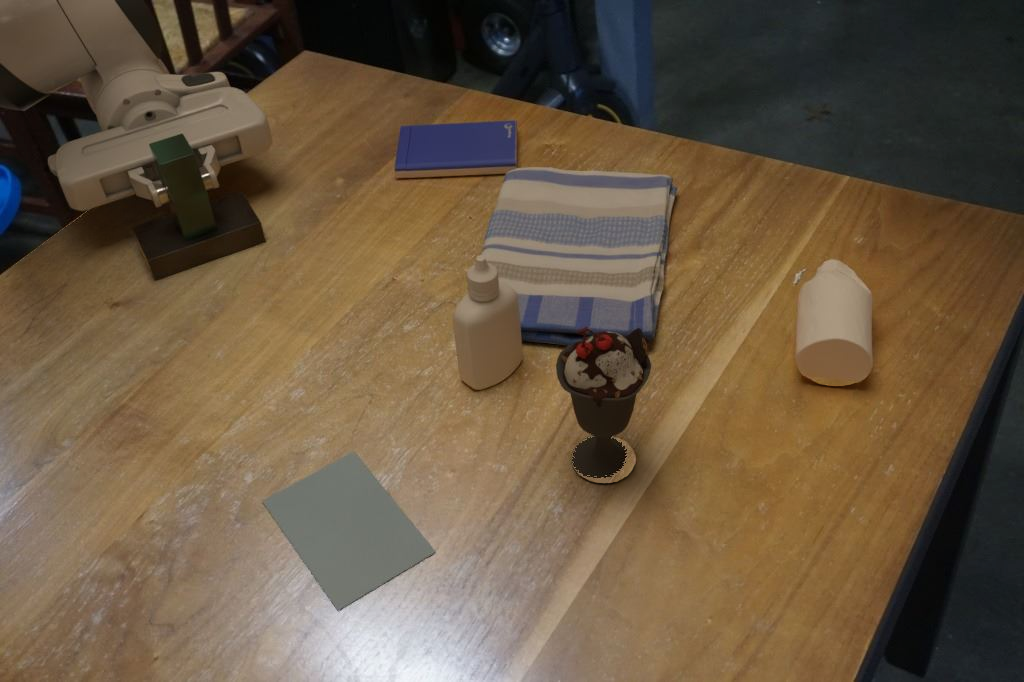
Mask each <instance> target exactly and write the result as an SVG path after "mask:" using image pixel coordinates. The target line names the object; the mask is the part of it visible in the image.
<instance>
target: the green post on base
mask: <svg viewBox="0 0 1024 682" xmlns="http://www.w3.org/2000/svg"><path fill="white" fill-rule="evenodd" d="M149 146H150V149H151V152H152V155H153V158H154V161H155V164H156V167H157V170H158V173H159V176H160V179H161V180H162V181H163V183H164V185H165V186H166V189H167V191H168V194H169V197H170V200H171V203H169V204H168V205H169V208H170V212H171V214H168V215H165V216H161V217H159V218H155V219H152V220H150V221H147V222H144V223H141V224H138V225H135V226H133V227H131V230H132V232H133V235H134V238H135V240H136V243H137V245H138V249H139V251H140V252H141V254H142V256H143V259H144V261H145V263H146V265H147V268H148V269H149V271H150V273H151V276H152V279H153V281H157V280H160V279H163V278H165V277H169V276H171V275H174V274H177V273H179V272H183V271H186V270H188V269H192V268H194V267H197V266H200V265H203V264H205V263H209V262H211V261H214V260H217V259H219V258H223V257H225V256H228V255H231V254H233V253H236V252H240V251H242V250H245V249H249V248H251V247H254V246H257V245H259V244H262V243H265V242H267V241H266V237H265V233H264V229H263V226H262V221H261V220H260V219H259V217H258V214H256V212H255V210H254V209H253V207H252V206H251V203H250V202H249V200H247V197H246V196H245V194H244V193H243V191H242V190H239V191H237V192H233V193H231V194H228V195H224V196H221V197H217V198H216V199H212V200H210V199H209V196H208V195H209V194H208V192H207V191H206V188H205V185H204V182H203V179H202V175H201V172H200V169H199V165H198V162H197V159H196V156H195V153H194V151H193V150H192V148H191V146H190V145H189V143H188V141H187V140H186V138H185V136H184V135H183V134H179V135H176V136H172V137H169V138H166V139H163V140H160V141H156V142H153V143H150V144H149Z"/></svg>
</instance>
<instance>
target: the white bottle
mask: <svg viewBox="0 0 1024 682" xmlns="http://www.w3.org/2000/svg"><path fill="white" fill-rule="evenodd" d="M873 299H874V298H873V294H872V291H871V290H870V289H869V288H868V286H867V285H866V284H865V283H864V282H863V281H862V279H861V278H860V277H859V276H858V275H857V273H856V272H855V270H853V269H852V268H850V267H849V266H848V265H847V264H846V263H843V262H842V261H841V260H839V259H835V258H834V259H833V258H830V259H829V260H825V261H823V262H822V263H821V265H819V266H818V267H817V268H816V273H815V275H814V276H813V277H812V278H811V279H809V280H808V281H806V282H804V283H803V284H802V286H801V288H800V290H799V292H798V296H797V307H796V320H795V321H796V322H795V350H794V351H795V353H794V363H795V366H796V368H797V370H798V371H799V373H800V374H801V376H803V377H804V376H810V377H822V378H826V379H838V380H839V379H840V380H844V381H854V382H859V383H861V382H862V381H864V380H865V379H866V378H867V377H868V376H869V375H871V372H872V369H873V368H874V367H873V366H874V356H873V331H872V330H873V311H874V309H873V305H874V302H873V301H874V300H873Z"/></svg>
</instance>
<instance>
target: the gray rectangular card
mask: <svg viewBox="0 0 1024 682" xmlns="http://www.w3.org/2000/svg"><path fill="white" fill-rule="evenodd" d="M261 503H262V504H263V505H264V507H265V508H266V510H267V511H268V513H269V514H270V515H271V518H273V520H274V521H275V523H276V524H277V526H278V527H279V528H280V531H282V533H283V534H284V536H285V537H286V539H287V540H288V541H289V543H290V544H291V546H292V547H293V549H294V550H295V551H296V553H297V555H298V556H299V557H300V559H301V560H302V561H303V563H304V565H305V566H306V567H307V569H308V571H309V572H310V573H311V575H312V576H313V577H314V579H315V580H316V582H317V583H318V585H319V587H321V589H322V591H323V592H324V593H325V595H326V597H327V598H328V599H329V601H330V602H331V603H332V605H333V607H334V608H335V609H336V611H337V612H339V611H340V610H342V609H344V608H345V607H347V606H349V605H351V604H353V603H354V602H356V601H357V600H359V599H361V598H362V597H364V596H366V595H367V594H369V593H371V592H373V591H374V590H375V589H377V588H379V587H380V586H382V585H384V584H386V583H387V582H390V581H391V580H393V579H394V578H396V577H397V576H400V574H402V573H404V572H406V571H407V570H409V569H411V568H412V567H414V566H415V565H417V564H419V563H421V562H422V561H424V560H426V559H427V558H429V557H431V556H433V555H434V554H436V550H435V549H434V548H433V546H432V545H431V544H430V543H429V541H428V540H427V539H426V538H425V537H424V535H423V534H422V532H420V530H419V529H418V528H417V526H415V524H414V523H413V522H412V521H411V520H410V518H409V517H408V515H406V513H405V512H404V511H403V510H402V508H401V507H400V505H399V504H397V502H396V501H395V500H394V498H393V497H392V496H391V495H390V493H389V492H388V491H387V490H386V489H385V487H384V486H383V485H382V484H381V482H380V481H379V480H378V478H377V477H376V476H375V475H374V474H373V472H372V471H371V470H370V469H369V468H368V466H367V465H366V464H365V463H364V462H363V460H362V459H361V458H360V457H359V455H358V454H357V453H356V452H355V450H354V451H352V452H349V453H348V454H346V455H344V456H342V457H341V458H339V459H336V460H335V461H333V462H331V463H329V464H327V465H325V466H324V467H322V468H320V469H318V470H316V471H314V472H312V473H311V474H309V475H307V476H305V477H304V478H301V479H300V480H298V481H296V482H294V483H292V484H290V485H289V486H286V487H285V488H283V489H281V490H278V491H277V492H275V493H274V494H271V495H270V496H268V497H266V498H264V499H262V500H261Z"/></svg>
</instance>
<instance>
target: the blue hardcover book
mask: <svg viewBox="0 0 1024 682" xmlns="http://www.w3.org/2000/svg"><path fill="white" fill-rule="evenodd" d="M517 168H518V120H516V119H515V120H493V121H490V120H489V121H476V122H475V121H473V122H453V123H452V122H450V123H434V124H433V123H432V124H430V123H429V124H415V125H413V124H412V125H401V126H400V130H399V136H398V142H397V149H396V155H395V162H394V174H395V178H396V179H405V178H406V179H410V178H411V179H412V178H414V179H415V178H434V177H435V178H436V177H437V178H438V177H457V176H458V177H459V176H479V175H503V174H505V175H506V173H507V172H509V171H511V170H513V169H517Z"/></svg>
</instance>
